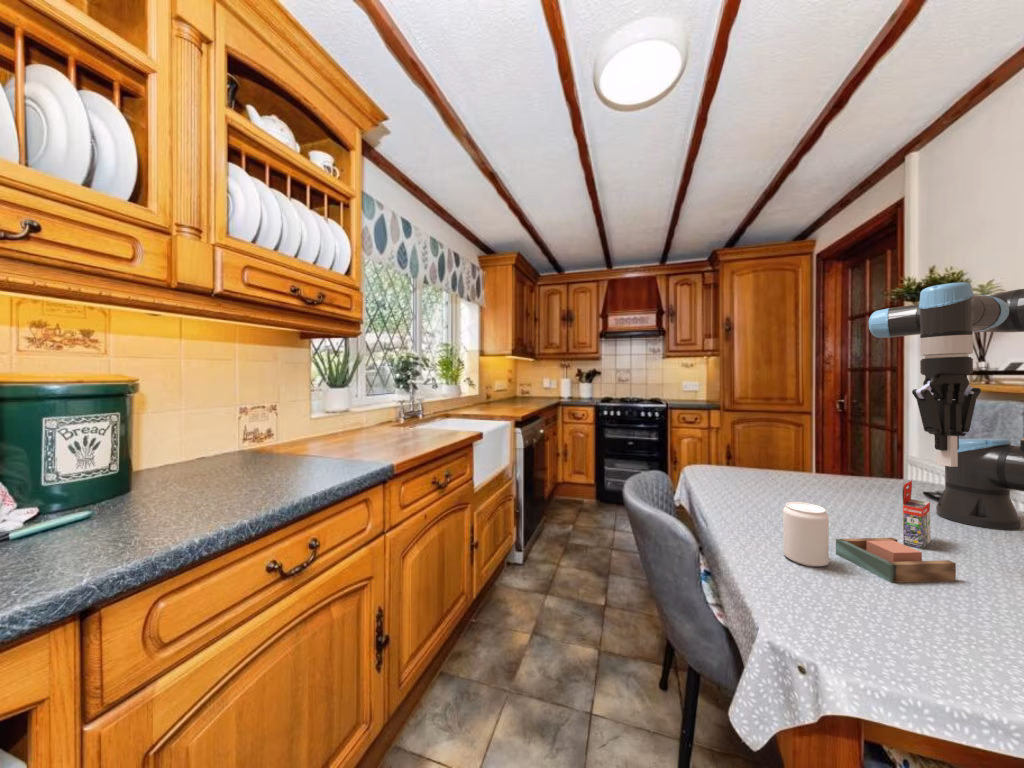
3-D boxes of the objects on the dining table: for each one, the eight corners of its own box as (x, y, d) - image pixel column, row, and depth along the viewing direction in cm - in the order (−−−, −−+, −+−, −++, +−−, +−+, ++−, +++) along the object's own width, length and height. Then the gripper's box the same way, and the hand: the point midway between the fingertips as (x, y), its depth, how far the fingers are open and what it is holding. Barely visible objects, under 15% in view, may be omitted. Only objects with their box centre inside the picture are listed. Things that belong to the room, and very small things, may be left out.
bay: (892, 552, 89) (892, 537, 89) (955, 580, 76) (955, 563, 76) (835, 554, 88) (835, 539, 88) (890, 582, 76) (890, 565, 76)
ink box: (931, 541, 94) (931, 483, 94) (923, 550, 90) (923, 488, 90) (910, 536, 97) (910, 479, 97) (902, 544, 93) (901, 485, 93)
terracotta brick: (893, 560, 86) (892, 540, 85) (921, 573, 80) (921, 552, 79) (866, 560, 85) (866, 540, 85) (893, 574, 79) (893, 552, 79)
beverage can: (819, 554, 88) (819, 503, 88) (835, 571, 81) (835, 514, 81) (778, 549, 91) (778, 499, 91) (790, 565, 83) (790, 511, 83)
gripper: (954, 356, 86) (955, 460, 87) (898, 358, 86) (899, 462, 86) (997, 354, 79) (998, 468, 79) (936, 356, 78) (937, 470, 79)
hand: (946, 465), depth 83 cm, fingers closed
